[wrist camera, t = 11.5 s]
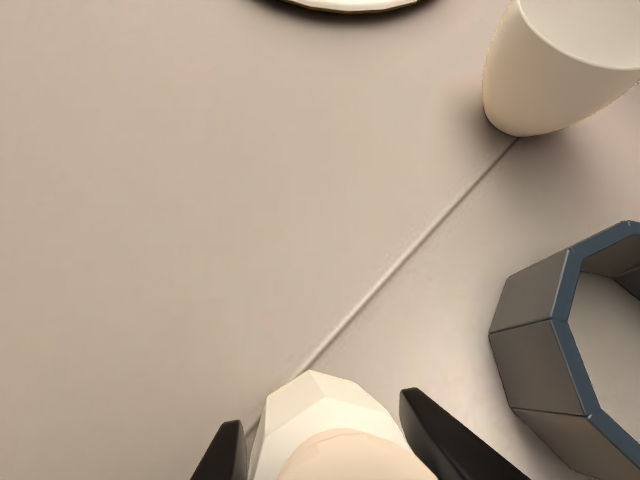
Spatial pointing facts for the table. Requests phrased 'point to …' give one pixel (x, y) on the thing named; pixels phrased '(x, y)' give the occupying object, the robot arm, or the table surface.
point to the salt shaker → (330, 435)
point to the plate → (352, 5)
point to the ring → (565, 354)
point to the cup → (559, 62)
